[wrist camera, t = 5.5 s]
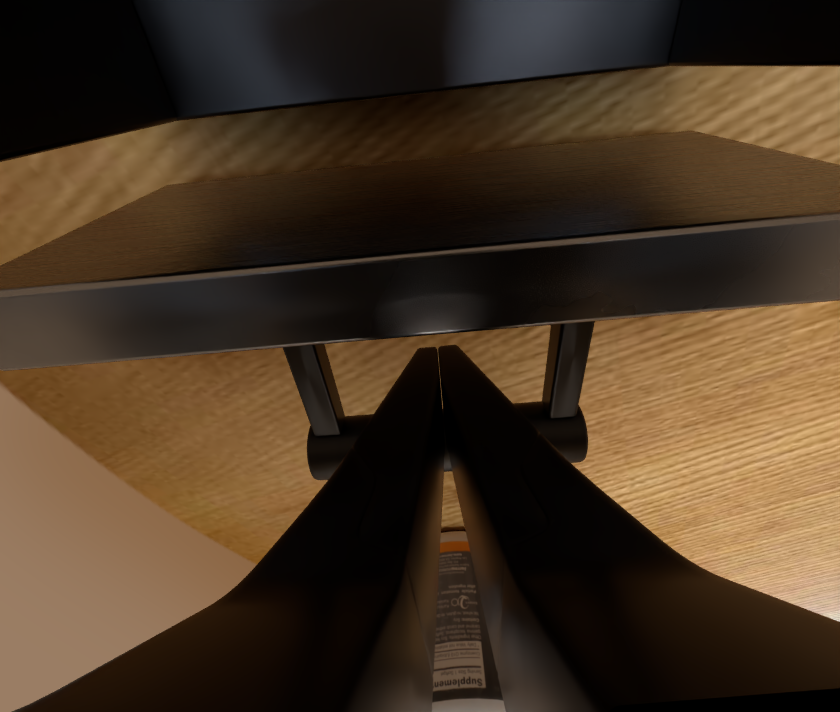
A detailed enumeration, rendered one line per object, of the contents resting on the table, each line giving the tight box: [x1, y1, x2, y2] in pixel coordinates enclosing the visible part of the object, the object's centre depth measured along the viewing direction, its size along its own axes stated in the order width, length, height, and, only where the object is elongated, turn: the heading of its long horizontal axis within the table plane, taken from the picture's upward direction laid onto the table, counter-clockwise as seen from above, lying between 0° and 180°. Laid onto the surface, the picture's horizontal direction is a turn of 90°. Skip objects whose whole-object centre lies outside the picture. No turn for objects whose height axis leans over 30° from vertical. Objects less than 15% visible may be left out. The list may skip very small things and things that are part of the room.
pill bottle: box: [432, 531, 506, 712], centre depth 18 cm, size 6×6×10 cm
